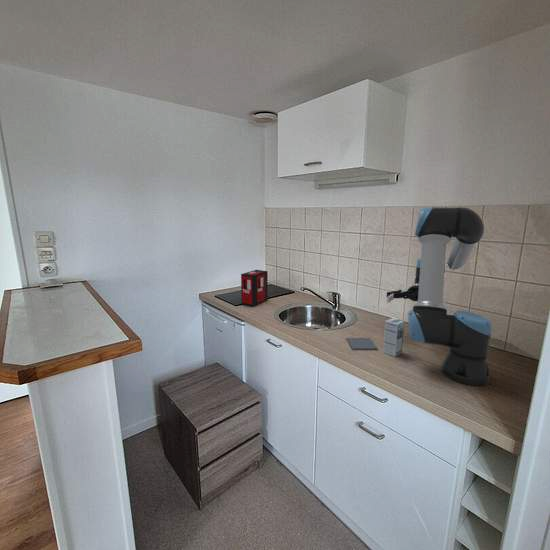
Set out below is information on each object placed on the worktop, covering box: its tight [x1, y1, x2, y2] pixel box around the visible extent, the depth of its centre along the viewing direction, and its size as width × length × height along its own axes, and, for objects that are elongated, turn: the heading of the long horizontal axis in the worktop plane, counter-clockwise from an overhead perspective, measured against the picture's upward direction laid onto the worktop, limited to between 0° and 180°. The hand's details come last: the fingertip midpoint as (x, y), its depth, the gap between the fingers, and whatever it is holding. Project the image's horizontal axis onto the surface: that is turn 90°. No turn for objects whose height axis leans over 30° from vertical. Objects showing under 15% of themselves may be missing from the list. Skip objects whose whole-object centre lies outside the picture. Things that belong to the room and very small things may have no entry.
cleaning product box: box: [240, 269, 269, 308], centre depth 197 cm, size 16×9×20 cm, turn 148°
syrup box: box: [382, 317, 405, 358], centre depth 130 cm, size 6×6×14 cm
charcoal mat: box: [345, 337, 378, 351], centre depth 139 cm, size 11×11×1 cm
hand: (403, 302), depth 135 cm, fingers open, 13 cm apart
